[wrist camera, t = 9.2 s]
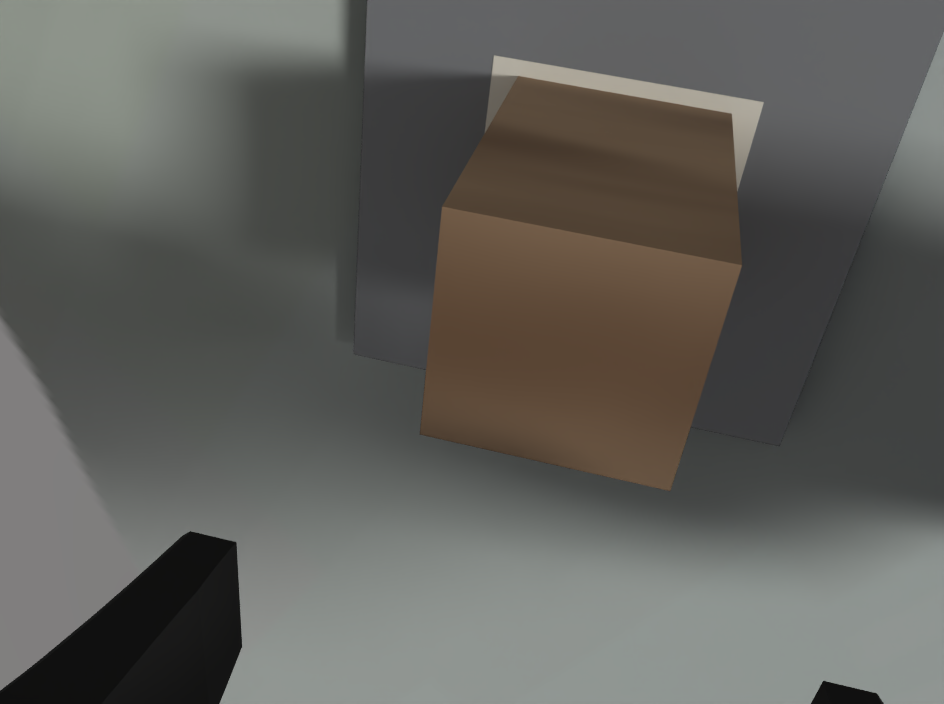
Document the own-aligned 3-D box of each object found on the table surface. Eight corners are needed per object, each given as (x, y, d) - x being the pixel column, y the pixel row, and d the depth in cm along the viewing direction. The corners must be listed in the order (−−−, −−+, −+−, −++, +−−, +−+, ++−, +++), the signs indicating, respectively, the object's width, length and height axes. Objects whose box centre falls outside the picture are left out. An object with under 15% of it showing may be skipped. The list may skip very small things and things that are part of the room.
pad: (955, -29, 15) (964, -22, 15) (777, 429, 21) (779, 446, 20) (381, -117, 16) (371, -113, 16) (361, 340, 22) (353, 354, 21)
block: (679, 299, 19) (670, 490, 14) (492, 261, 19) (419, 434, 14) (732, 113, 17) (742, 265, 12) (517, 76, 17) (442, 206, 12)
